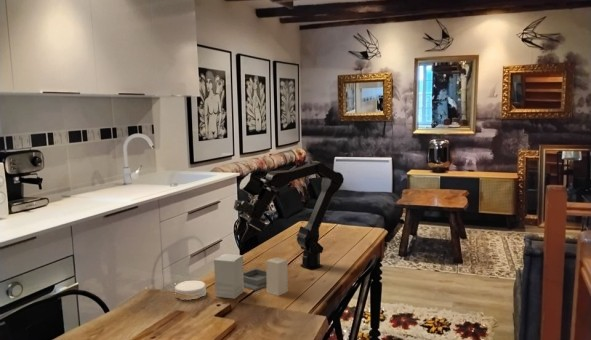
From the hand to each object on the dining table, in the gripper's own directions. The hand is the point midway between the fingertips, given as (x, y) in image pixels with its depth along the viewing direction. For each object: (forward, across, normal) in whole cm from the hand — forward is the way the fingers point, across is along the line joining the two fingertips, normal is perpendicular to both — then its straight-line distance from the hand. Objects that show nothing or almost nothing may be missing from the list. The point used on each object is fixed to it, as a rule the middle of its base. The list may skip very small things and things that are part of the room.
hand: (239, 238), depth 172 cm
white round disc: (+23, +11, -8) cm, 27 cm away
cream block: (+7, +19, +15) cm, 25 cm away
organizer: (+9, +6, +12) cm, 16 cm away
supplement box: (+16, +15, +2) cm, 22 cm away
